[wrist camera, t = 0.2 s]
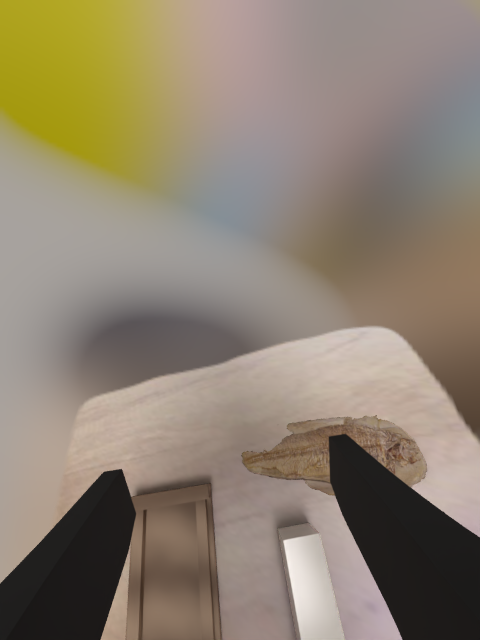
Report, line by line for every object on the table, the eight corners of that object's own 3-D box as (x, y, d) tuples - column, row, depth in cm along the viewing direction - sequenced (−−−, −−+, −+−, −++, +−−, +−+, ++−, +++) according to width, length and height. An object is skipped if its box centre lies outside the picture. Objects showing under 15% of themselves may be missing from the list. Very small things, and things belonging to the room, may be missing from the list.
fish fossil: (241, 502, 34) (241, 502, 33) (237, 422, 40) (236, 420, 39) (434, 488, 34) (440, 488, 33) (402, 410, 40) (406, 408, 39)
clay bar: (343, 682, 26) (367, 735, 21) (305, 690, 26) (320, 746, 21) (308, 522, 32) (319, 533, 27) (277, 528, 32) (283, 540, 27)
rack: (225, 692, 26) (223, 718, 23) (125, 714, 25) (111, 742, 23) (210, 483, 35) (207, 484, 32) (136, 495, 34) (127, 497, 32)
